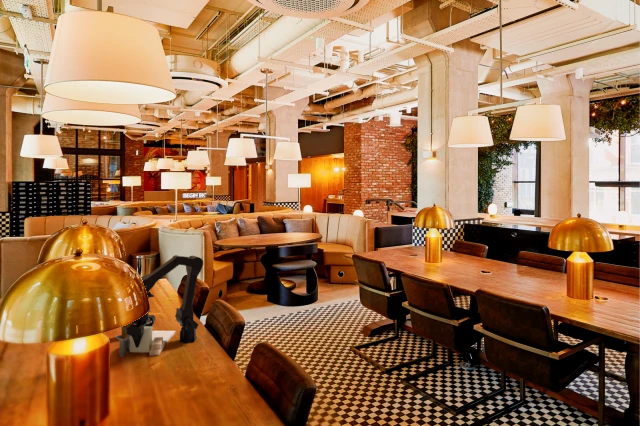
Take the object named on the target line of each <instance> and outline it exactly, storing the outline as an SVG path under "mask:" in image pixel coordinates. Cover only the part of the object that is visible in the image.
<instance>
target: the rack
mask: <svg viewBox="0 0 640 426" xmlns="http://www.w3.org/2000/svg"><path fill="white" fill-rule="evenodd" d="M118 346H119V350H118V351H119V355H118V356H119V358H123V357H124V356H125V355H126V354H127V353H129V352H130V335H128V336H127V337H126V338H125V339H120V340H119V345H118Z"/></svg>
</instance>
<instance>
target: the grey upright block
mask: <svg viewBox="0 0 640 426" xmlns="http://www.w3.org/2000/svg"><path fill="white" fill-rule="evenodd" d="M152 331H153V326H144V331H143V332H144V334H143V337H142V339H141V342H140V345H139V347H138V348H136V346H135V343H134V341H133V338H132V336H130V350H129V352H130V353H150V349H151V347H152V343H153V342H152Z"/></svg>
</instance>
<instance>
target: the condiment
mask: <svg viewBox="0 0 640 426" xmlns="http://www.w3.org/2000/svg"><path fill="white" fill-rule="evenodd" d="M130 325H136V324H131V323H130V324H128V325H126V326H123V327H122V326H121V334H120V335H115V336H114V338H115V339H117V340H118V341H120V339H125V338H126V337H127V336H128V334H126V329H127V328H128V327H129V326H130Z"/></svg>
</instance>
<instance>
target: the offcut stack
mask: <svg viewBox="0 0 640 426" xmlns="http://www.w3.org/2000/svg"><path fill="white" fill-rule="evenodd" d="M165 345H166V342H163V337H156V338H154V340H153V342H152V347H151V349H150V352H148V353H149V356H160V354H161V353H162V352H163V350H164V348H165Z"/></svg>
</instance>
